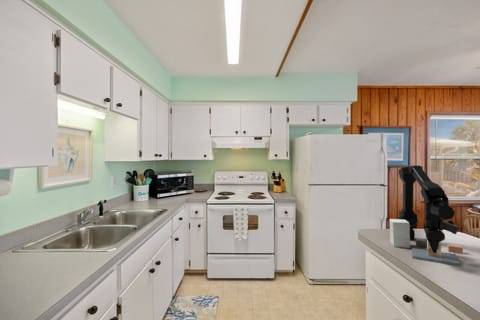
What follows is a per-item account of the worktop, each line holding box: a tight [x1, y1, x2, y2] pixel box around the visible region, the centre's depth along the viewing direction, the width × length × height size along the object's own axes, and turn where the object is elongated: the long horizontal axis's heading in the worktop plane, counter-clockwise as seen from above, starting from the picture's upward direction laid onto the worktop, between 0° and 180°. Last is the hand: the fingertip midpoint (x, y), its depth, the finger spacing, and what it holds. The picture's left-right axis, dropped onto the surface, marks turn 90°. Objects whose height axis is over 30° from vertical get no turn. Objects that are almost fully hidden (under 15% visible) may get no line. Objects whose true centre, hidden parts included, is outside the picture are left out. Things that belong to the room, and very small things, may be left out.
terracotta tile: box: [447, 243, 464, 255], centre depth 117 cm, size 5×3×3 cm, turn 56°
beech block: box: [426, 239, 442, 258], centre depth 111 cm, size 4×4×6 cm
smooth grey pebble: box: [415, 238, 427, 249], centre depth 125 cm, size 5×5×3 cm
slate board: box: [411, 247, 461, 267], centre depth 111 cm, size 16×12×1 cm
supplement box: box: [389, 218, 411, 249], centre depth 127 cm, size 7×7×13 cm
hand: (433, 249), depth 111 cm, fingers open, 9 cm apart
